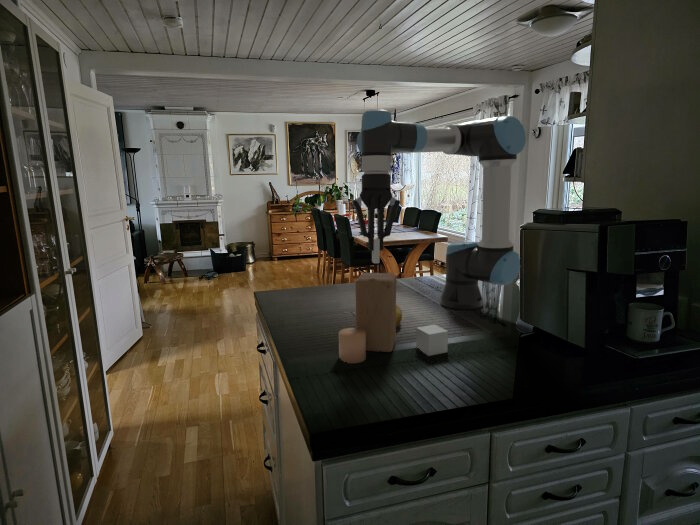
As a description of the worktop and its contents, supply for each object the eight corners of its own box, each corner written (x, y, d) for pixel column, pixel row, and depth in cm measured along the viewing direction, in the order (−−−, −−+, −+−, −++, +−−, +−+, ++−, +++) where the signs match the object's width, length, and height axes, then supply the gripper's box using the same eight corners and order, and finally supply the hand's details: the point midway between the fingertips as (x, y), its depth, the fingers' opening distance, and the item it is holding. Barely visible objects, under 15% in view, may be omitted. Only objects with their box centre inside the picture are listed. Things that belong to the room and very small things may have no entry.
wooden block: (392, 353, 115) (392, 280, 112) (355, 351, 117) (354, 279, 114) (395, 340, 125) (396, 272, 121) (361, 338, 127) (361, 271, 123)
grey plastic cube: (434, 344, 121) (434, 324, 120) (447, 352, 116) (448, 331, 115) (416, 348, 119) (416, 327, 118) (428, 356, 114) (429, 334, 112)
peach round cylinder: (363, 351, 117) (362, 327, 116) (368, 362, 110) (368, 336, 109) (337, 353, 116) (337, 328, 115) (341, 364, 109) (340, 338, 108)
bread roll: (379, 316, 147) (379, 293, 146) (407, 319, 144) (407, 296, 142) (367, 328, 135) (367, 303, 134) (397, 332, 132) (397, 306, 131)
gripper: (396, 173, 117) (395, 259, 121) (349, 173, 115) (349, 260, 119) (404, 172, 110) (402, 264, 114) (353, 172, 108) (354, 265, 112)
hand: (375, 262), depth 116 cm, fingers closed
